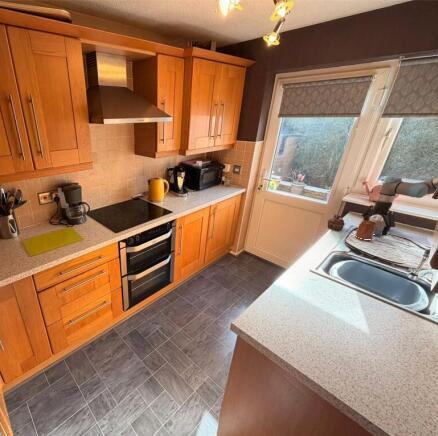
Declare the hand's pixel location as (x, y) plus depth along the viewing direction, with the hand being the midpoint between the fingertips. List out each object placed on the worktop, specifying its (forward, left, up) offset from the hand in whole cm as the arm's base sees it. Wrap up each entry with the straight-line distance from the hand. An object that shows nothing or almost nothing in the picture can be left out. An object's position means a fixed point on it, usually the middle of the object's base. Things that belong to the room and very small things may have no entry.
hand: (373, 231), depth 154 cm
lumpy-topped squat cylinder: (+9, -13, -2) cm, 16 cm away
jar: (-6, +12, -2) cm, 14 cm away
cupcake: (+10, +18, -2) cm, 21 cm away
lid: (0, 0, -1) cm, 1 cm away
